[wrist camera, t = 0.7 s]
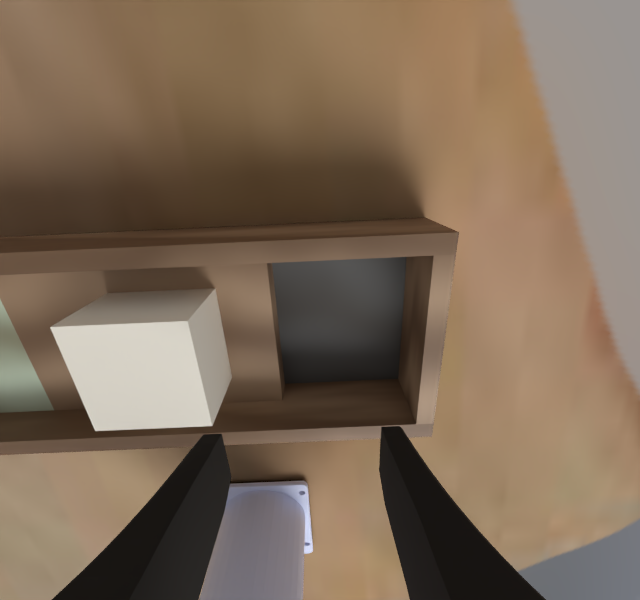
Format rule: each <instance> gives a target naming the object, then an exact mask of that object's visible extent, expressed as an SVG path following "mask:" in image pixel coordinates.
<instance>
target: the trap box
mask: <svg viewBox="0 0 640 600" xmlns="http://www.w3.org/2000/svg"><path fill="white" fill-rule="evenodd" d="M458 235H459V232H457V231H455V230H452V229H450V228H448V227H446V226H443V225H441V224H439V223H436V222H434V221H432V220H430V219H427V218H406V219H384V220H363V221H341V222H319V223H297V224H275V225H254V226H232V227H210V228H188V229H166V230H145V231H123V232H101V233H79V234H57V235H36V236H14V237H0V455H10V454H34V453H57V452H81V451H104V450H127V449H151V448H174V447H194V445H195V444H196V443H197V442H198V440H199V439H200V438H201V437H202V436H203V435H204V434H222V437H223V442H224V445H244V444H268V443H291V442H315V441H338V440H361V439H381V427H388V426H400V427H401V428H402V429H403V430H404V432H405V434H406V435H407V437H432V432H433V424H434V417H435V409H436V401H437V394H438V386H439V379H440V371H441V364H442V356H443V349H444V341H445V333H446V326H447V318H448V311H449V303H450V296H451V288H452V281H453V273H454V265H455V258H456V250H457V243H458ZM210 288H215V289H216V295H217V300H218V305H219V311H220V316H221V321H222V327H223V332H224V337H225V343H226V348H227V353H228V359H229V364H230V369H231V375H232V379H231V381H230V384H229V386H228V389H227V391H226V394H225V396H224V399H223V401H222V403H221V406H220V408H219V411H218V413H217V416H216V418H215V421H214V423H213V426H203V427H180V428H156V429H133V430H110V431H95V429H94V427H93V425H92V423H91V420H90V418H89V416H88V413H87V411H86V409H85V407H84V404H83V402H82V400H81V397H80V395H79V393H78V390H77V388H76V386H75V384H74V381H73V379H72V377H71V374H70V372H69V370H68V367H67V365H66V363H65V361H64V358H63V356H62V354H61V351H60V349H59V347H58V344H57V342H56V340H55V338H54V335H53V333H52V331H51V328H50V327H51V326H53V325H54V324H56V323H58V322H59V321H61V320H63V319H64V318H66V317H68V316H70V315H71V314H73V313H75V312H76V311H78V310H80V309H81V308H83V307H85V306H86V305H88V304H90V303H91V302H93V301H95V300H97V299H98V298H100V297H102V296H103V295H105V294H107V293H121V292H143V291H166V290H188V289H210Z"/></svg>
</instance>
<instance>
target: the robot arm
mask: <svg viewBox="0 0 640 600" xmlns="http://www.w3.org/2000/svg"><path fill="white" fill-rule="evenodd" d="M379 471H380V477H381V484H382V490H383V495H384V501H385V506H386V510H387V514H388V517H389V521H390V525H391V529H392V533H393V536H394V540H395V544H396V548H397V551H398V555H399V559H400V563H401V566H402V570H403V574H404V578H405V581H406V585H407V589H408V593H409V598H410V600H546V599H545V598H544V597H543V596H541V595H540V594H539V593H538V592H537V591H536V590H535V589H534V588H533V587H532V586H531V585H530V584H529V583H528V582H527V581H526V580H525V579H524V578H523V577H522V576H521V575H520V574H519V573H518V572H517V571H516V570H515V569H514V568H513V567H512V566H511V565H510V564H509V563H508V562H507V561H506V560H505V559H504V558H503V557H502V556H501V555H500V553H499V552H498V551H497V550H496V549H495V548H494V547H493V546H492V545H491V544H490V543H489V542H488V540H487V539H486V538H485V537H484V536H483V535H482V534H481V533H480V532H479V530H478V529H477V528H476V527H475V526H474V525H473V524H472V522H471V521H470V520H469V519H468V518H467V516H466V515H465V514H464V513H463V512H462V510H461V509H460V508H459V507H458V506H457V504H456V503H455V502H454V501H453V499H452V498H451V497H450V496H449V494H448V493H447V492H446V491H445V489H444V488H443V487H442V485H441V484H440V483H439V481H438V480H437V479H436V477H435V476H434V475H433V473H432V472H431V471H430V469H429V468H428V467H427V465H426V464H425V462H424V461H423V459H422V458H421V457H420V455H419V454H418V452H417V451H416V449H415V448H414V446H413V445H412V443H411V442H410V440H409V438H408V437H407V435H406V434H405V432H404V430H403V429H402V428H401V427H400V426H388V427H381V444H380V466H379ZM230 480H231V473H230V468H229V464H228V459H227V455H226V451H225V446H224V442H223V437H222V434H204V435H203V436H202V437H201V438H200V439H199V440H198V442H197V443H196V444H195V445H194V447H193V448H192V449H191V450H190V452H189V453H188V454H187V456H186V457H185V458H184V459H183V461H182V462H181V463H180V464H179V466H178V467H177V468H176V469H175V470H174V472H173V473H172V474H171V475H170V477H169V478H168V479H167V480H166V481H165V483H164V484H163V485H162V486H161V487H160V489H159V490H158V491H157V492H156V493H155V495H154V496H153V497H152V498H151V499H150V500H149V502H148V503H147V504H146V505H145V506H144V507H143V508H142V509H141V510H140V512H139V513H138V514H137V515H136V516H135V517H134V518H133V519H132V520H131V522H130V523H129V524H128V525H127V526H126V527H125V528H124V529H123V530H122V531H121V532H120V534H119V535H118V536H117V537H116V538H115V539H114V540H113V541H112V542H111V543H110V544H109V545H108V546H107V547H106V548H105V549H104V550H103V551H102V552H101V553H100V554H99V555H98V556H97V557H96V558H95V559H94V560H93V561H92V562H91V563H90V564H89V565H88V566H87V567H86V568H85V569H84V570H83V571H82V572H81V573H80V574H79V575H78V576H77V577H76V578H74V579H73V580H72V581H71V582H70V583H69V584H68V585H67V586H66V587H65V588H64V589H63V590H62V591H61V592H60V593H58V594H57V595H56V596H55V597H54V598H53V599H52V600H198V599H199V595H200V592H201V595H200V599H199V600H303V580H304V554H307V553H311V552H312V551H313V541H312V529H311V517H310V505H309V494H308V484H307V483H306V482H305V481H281V482H257V483H234V484H230ZM208 565H209V566H208ZM207 568H208V569H207ZM206 572H207V573H206ZM205 575H206V577H205ZM204 578H205V580H204ZM203 582H204V584H203ZM202 585H203V588H202ZM201 588H202V591H201Z"/></svg>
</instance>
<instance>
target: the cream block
mask: <svg viewBox="0 0 640 600" xmlns="http://www.w3.org/2000/svg"><path fill="white" fill-rule="evenodd" d="M50 328H51V331H52V333H53V335H54V338H55V340H56V342H57V344H58V347H59V349H60V351H61V354H62V356H63V358H64V361H65V363H66V365H67V367H68V370H69V372H70V374H71V377H72V379H73V381H74V384H75V386H76V388H77V390H78V393H79V395H80V397H81V400H82V402H83V404H84V407H85V409H86V411H87V413H88V416H89V418H90V420H91V423H92V425H93V427H94V429H95V431H110V430H133V429H156V428H180V427H203V426H213V423H214V421H215V418H216V416H217V413H218V411H219V408H220V406H221V403H222V401H223V399H224V396H225V394H226V391H227V389H228V386H229V384H230V381H231V379H232V375H231V369H230V364H229V359H228V353H227V348H226V343H225V337H224V332H223V327H222V321H221V316H220V311H219V305H218V300H217V295H216V289H215V288H210V289H188V290H166V291H143V292H121V293H107V294H105V295H103V296H102V297H100V298H98V299H97V300H95V301H93V302H91V303H90V304H88V305H86V306H85V307H83V308H81V309H80V310H78V311H76V312H75V313H73V314H71V315H70V316H68V317H66V318H64V319H63V320H61V321H59V322H58V323H56V324H54V325H53V326H51V327H50Z"/></svg>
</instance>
